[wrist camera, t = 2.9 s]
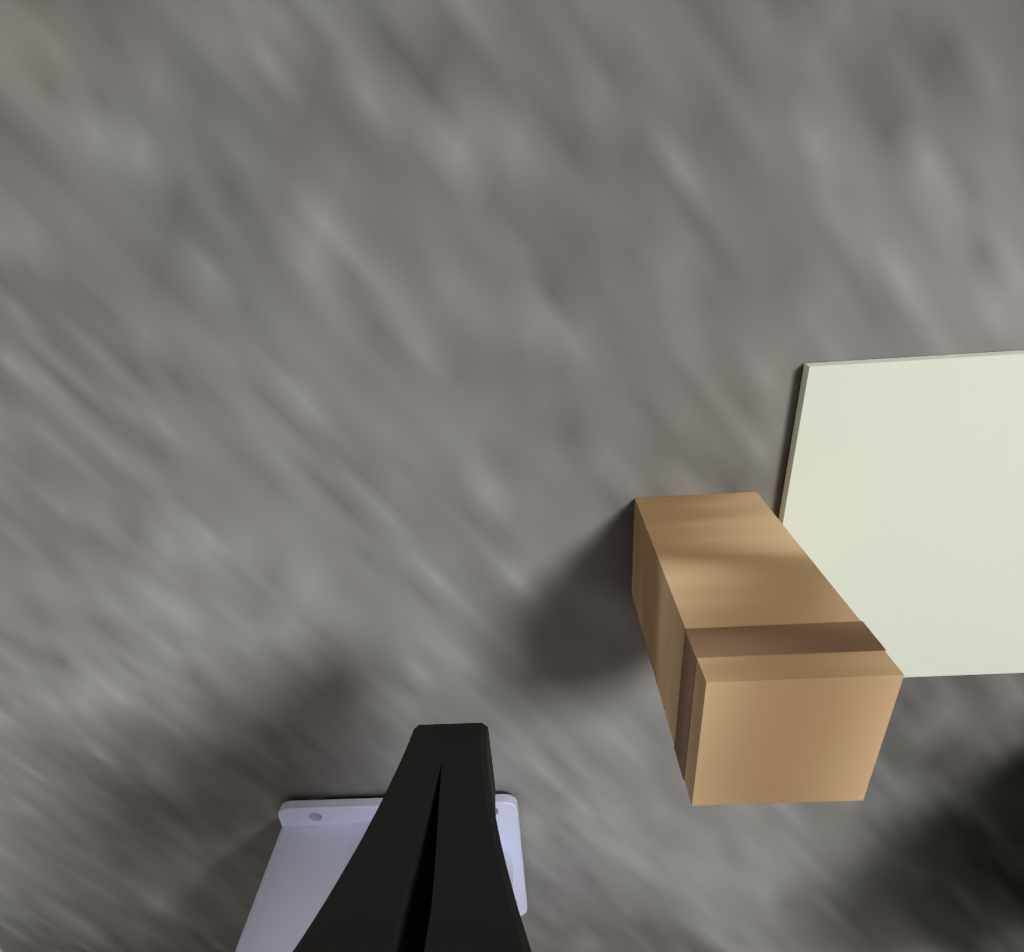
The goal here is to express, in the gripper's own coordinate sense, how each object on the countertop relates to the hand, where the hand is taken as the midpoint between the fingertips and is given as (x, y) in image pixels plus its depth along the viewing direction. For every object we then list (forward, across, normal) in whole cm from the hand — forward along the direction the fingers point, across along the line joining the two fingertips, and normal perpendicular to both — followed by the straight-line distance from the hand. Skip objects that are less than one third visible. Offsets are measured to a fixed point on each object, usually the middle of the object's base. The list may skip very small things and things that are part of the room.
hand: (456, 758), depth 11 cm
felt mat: (+7, -14, 0) cm, 16 cm away
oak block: (+7, -6, 0) cm, 10 cm away
